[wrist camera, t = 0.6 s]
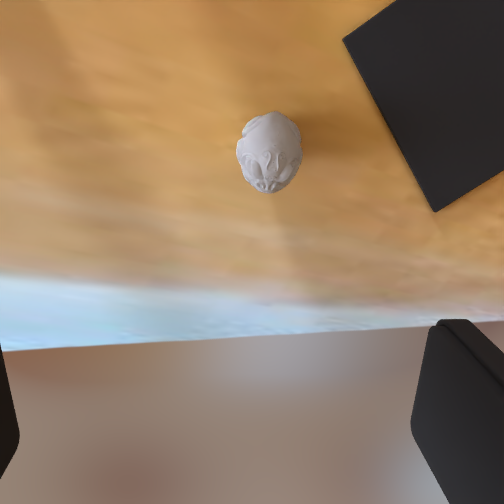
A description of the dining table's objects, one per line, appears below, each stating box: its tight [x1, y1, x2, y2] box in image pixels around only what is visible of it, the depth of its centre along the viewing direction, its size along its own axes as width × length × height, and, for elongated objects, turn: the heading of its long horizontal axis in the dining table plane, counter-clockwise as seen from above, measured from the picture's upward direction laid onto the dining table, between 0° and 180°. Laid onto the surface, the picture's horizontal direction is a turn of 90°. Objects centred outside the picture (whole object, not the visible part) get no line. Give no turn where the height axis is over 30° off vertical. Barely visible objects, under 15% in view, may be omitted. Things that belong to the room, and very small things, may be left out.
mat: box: [342, 0, 504, 212], centre depth 41 cm, size 20×16×1 cm
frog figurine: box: [236, 111, 303, 193], centre depth 39 cm, size 6×7×7 cm
